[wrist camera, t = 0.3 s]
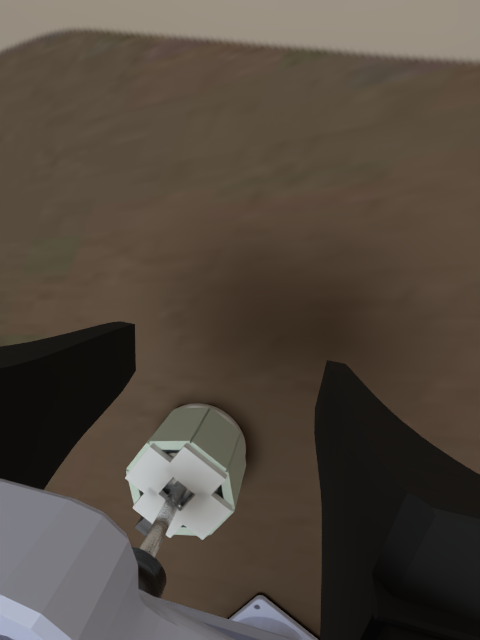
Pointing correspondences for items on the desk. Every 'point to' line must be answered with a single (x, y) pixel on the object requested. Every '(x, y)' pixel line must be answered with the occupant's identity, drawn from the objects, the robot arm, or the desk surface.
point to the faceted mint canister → (190, 469)
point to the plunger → (159, 538)
